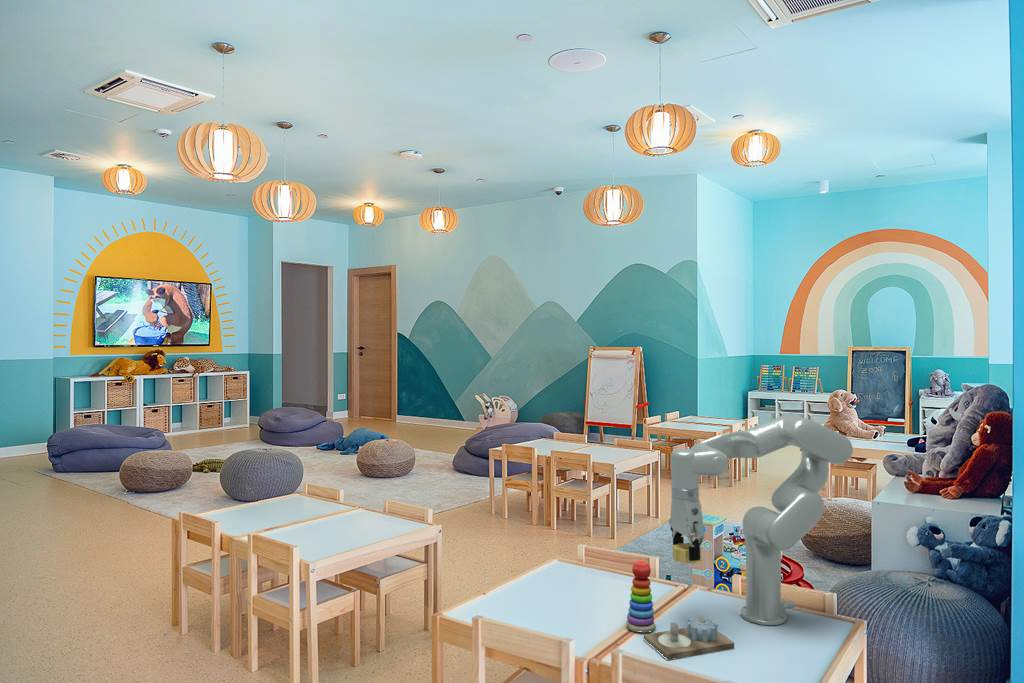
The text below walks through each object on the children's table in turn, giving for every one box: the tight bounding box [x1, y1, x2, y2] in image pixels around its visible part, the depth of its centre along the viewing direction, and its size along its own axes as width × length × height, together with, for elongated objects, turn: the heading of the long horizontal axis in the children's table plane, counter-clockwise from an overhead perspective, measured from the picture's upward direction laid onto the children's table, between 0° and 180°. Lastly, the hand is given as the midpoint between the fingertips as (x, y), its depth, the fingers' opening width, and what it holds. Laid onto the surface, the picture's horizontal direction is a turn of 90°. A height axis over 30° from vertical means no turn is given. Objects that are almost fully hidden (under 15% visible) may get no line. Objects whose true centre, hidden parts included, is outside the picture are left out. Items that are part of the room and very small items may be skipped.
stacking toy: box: [626, 560, 656, 633], centre depth 195 cm, size 8×8×19 cm
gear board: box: [643, 617, 735, 660], centre depth 185 cm, size 20×12×6 cm, turn 108°
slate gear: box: [686, 617, 718, 643], centre depth 186 cm, size 8×8×4 cm
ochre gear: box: [672, 542, 702, 565], centre depth 197 cm, size 8×8×4 cm
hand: (686, 555), depth 197 cm, fingers closed on ochre gear, 7 cm apart
